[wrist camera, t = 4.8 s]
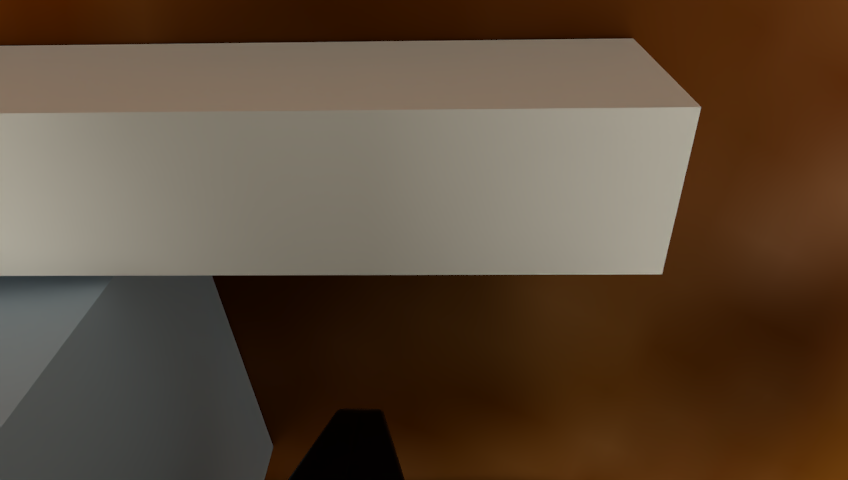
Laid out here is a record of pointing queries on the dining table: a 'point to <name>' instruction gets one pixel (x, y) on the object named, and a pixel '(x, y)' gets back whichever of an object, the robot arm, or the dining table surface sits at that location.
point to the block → (124, 382)
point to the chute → (340, 158)
